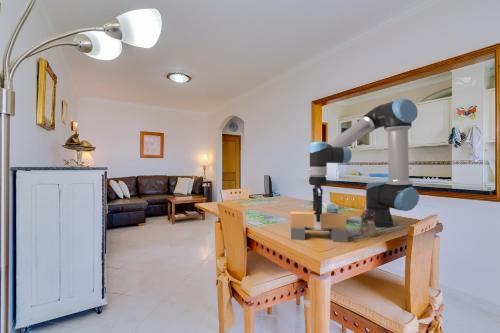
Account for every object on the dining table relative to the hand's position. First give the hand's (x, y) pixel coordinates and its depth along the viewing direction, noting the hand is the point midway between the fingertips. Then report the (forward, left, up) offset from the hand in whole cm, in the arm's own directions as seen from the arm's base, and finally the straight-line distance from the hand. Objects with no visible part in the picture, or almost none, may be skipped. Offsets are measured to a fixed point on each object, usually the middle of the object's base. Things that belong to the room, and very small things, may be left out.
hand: (316, 226), depth 110 cm
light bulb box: (-10, -28, -5) cm, 30 cm away
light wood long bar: (0, 0, 0) cm, 0 cm away
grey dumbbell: (0, 0, -5) cm, 5 cm away
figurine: (-24, -8, -5) cm, 26 cm away
